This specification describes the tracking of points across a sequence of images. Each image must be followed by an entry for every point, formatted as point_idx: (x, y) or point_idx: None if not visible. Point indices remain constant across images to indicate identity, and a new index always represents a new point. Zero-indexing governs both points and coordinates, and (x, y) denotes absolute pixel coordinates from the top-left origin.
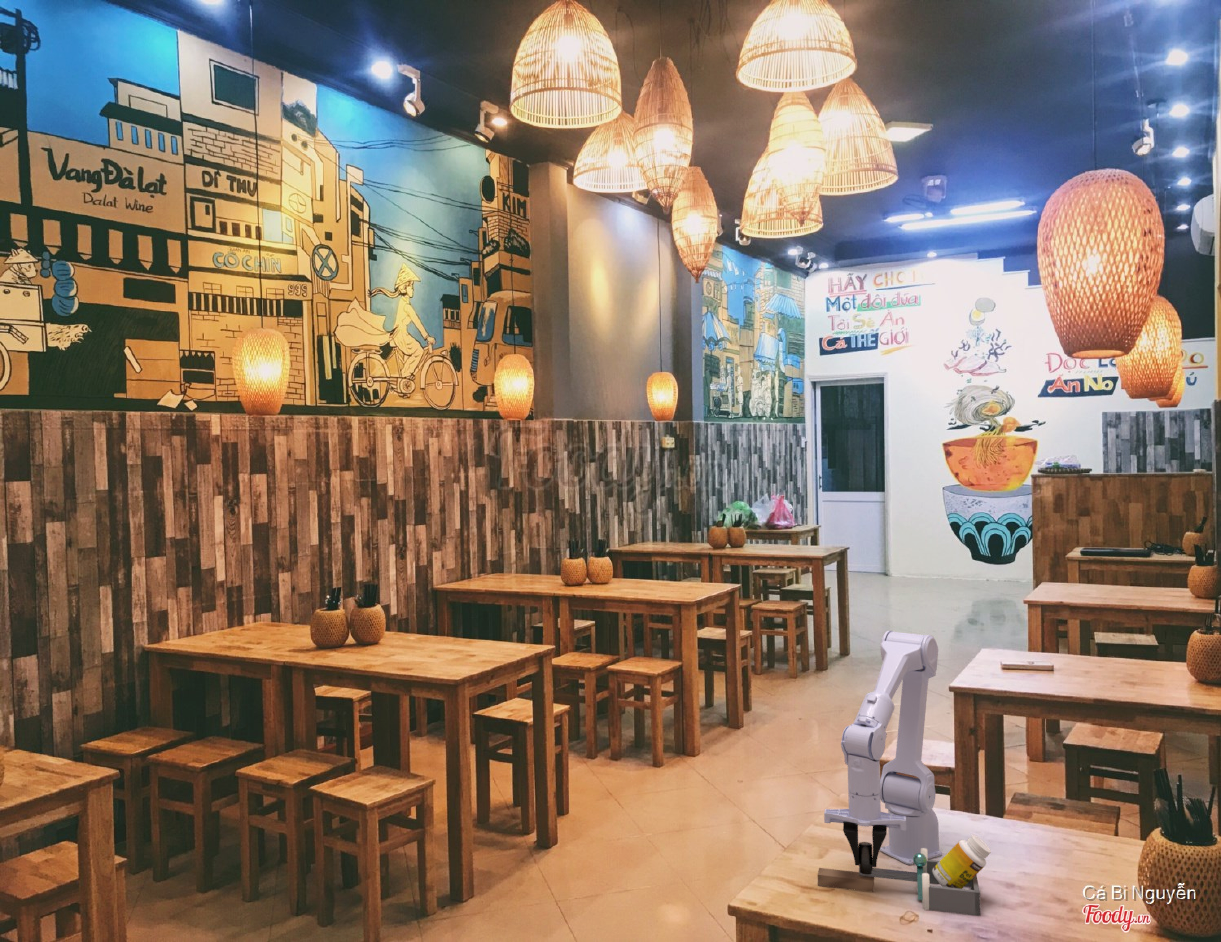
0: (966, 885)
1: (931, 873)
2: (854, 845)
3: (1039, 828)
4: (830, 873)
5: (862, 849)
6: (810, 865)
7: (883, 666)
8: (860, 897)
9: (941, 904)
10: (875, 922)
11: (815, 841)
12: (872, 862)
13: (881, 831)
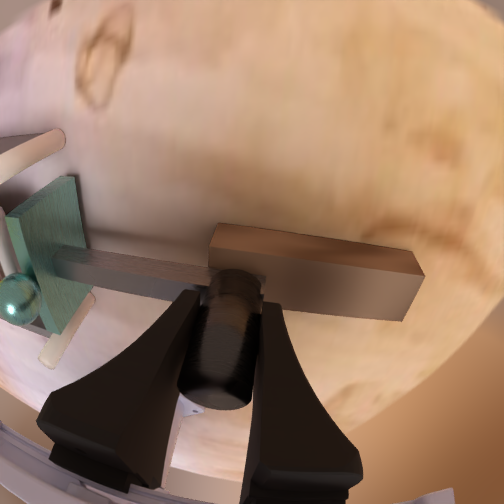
0: None
1: None
2: (281, 382)
3: (29, 404)
4: (376, 289)
5: (232, 364)
6: (388, 356)
7: None
8: (271, 179)
9: (12, 141)
10: None
11: (338, 426)
12: (192, 303)
13: (64, 440)
